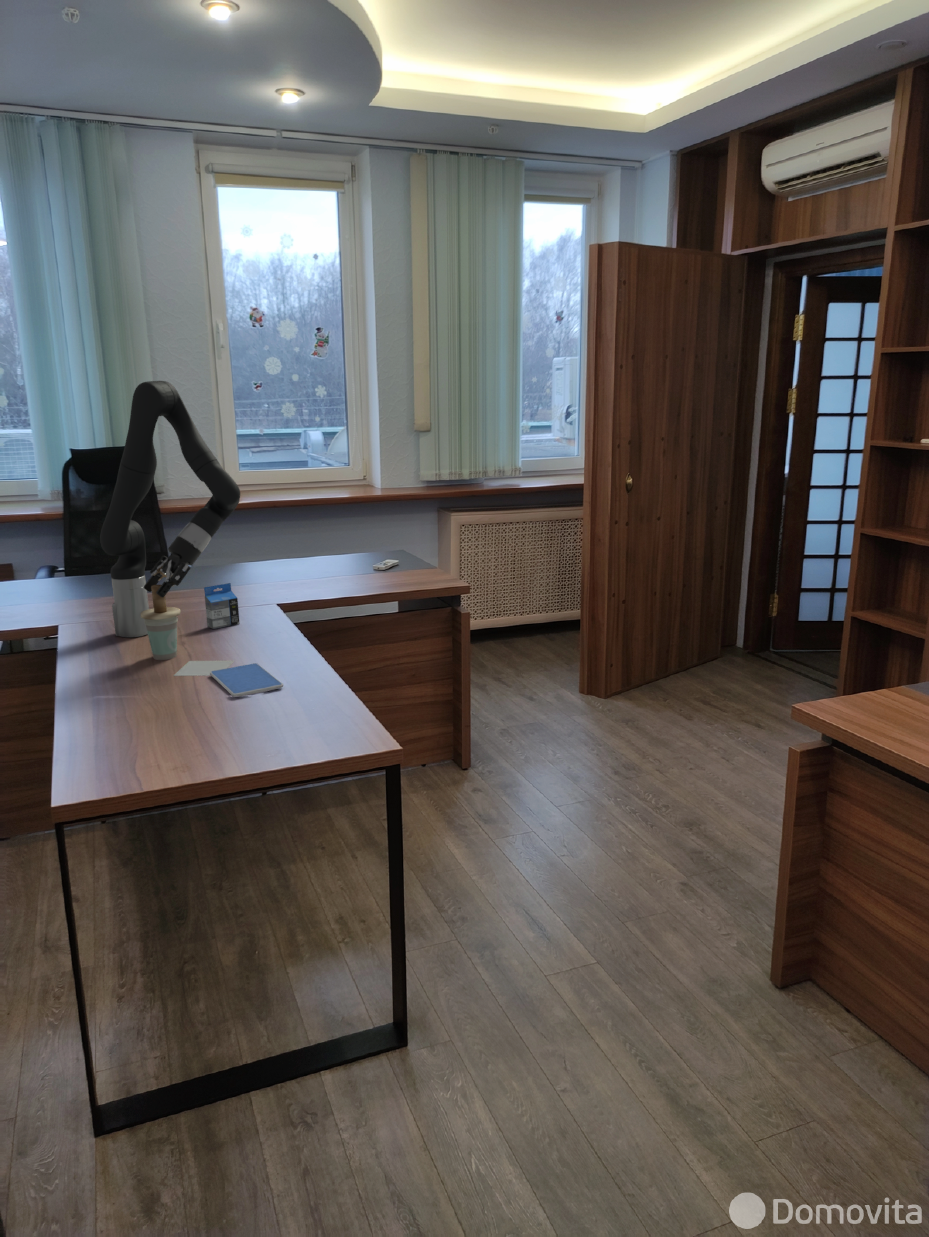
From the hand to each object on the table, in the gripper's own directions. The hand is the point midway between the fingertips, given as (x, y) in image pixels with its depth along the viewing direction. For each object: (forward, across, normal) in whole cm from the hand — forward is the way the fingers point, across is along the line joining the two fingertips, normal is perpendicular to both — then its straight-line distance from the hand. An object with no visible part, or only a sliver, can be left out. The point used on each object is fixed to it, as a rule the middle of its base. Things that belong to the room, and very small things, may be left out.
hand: (152, 592), depth 230 cm
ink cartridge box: (-7, -19, +32) cm, 38 cm away
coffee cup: (+12, 0, +14) cm, 18 cm away
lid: (+3, 0, +5) cm, 6 cm away
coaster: (+9, +17, +16) cm, 25 cm away
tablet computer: (+7, +34, +18) cm, 39 cm away
